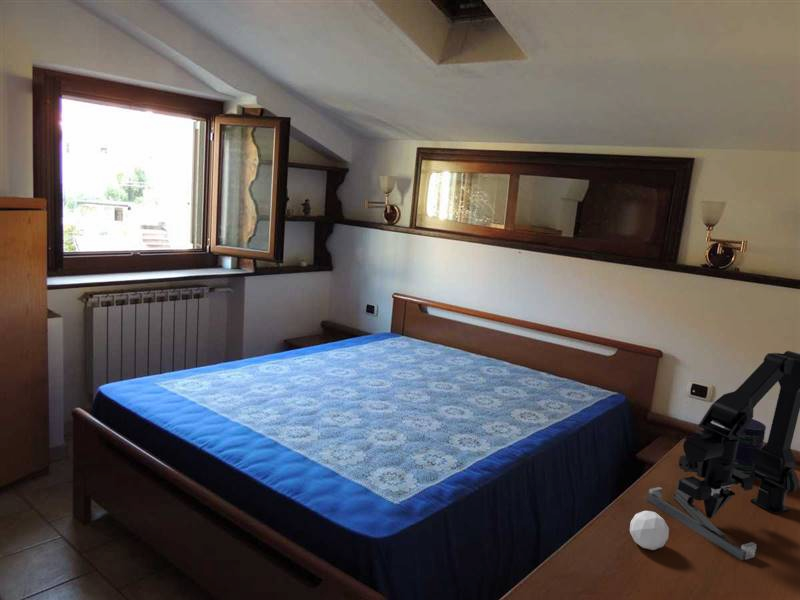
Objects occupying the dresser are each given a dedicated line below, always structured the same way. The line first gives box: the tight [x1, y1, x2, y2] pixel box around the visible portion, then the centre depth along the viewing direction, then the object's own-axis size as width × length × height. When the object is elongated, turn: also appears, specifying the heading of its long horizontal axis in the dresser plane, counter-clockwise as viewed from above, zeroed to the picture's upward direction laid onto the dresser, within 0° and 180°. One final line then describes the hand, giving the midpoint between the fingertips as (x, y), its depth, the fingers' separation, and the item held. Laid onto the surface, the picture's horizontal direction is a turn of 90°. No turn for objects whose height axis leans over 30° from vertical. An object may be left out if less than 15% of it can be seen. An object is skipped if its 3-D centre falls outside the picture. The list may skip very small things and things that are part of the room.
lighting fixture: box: [672, 488, 726, 538], centre depth 148 cm, size 19×3×4 cm, turn 5°
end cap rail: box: [645, 486, 757, 561], centre depth 145 cm, size 4×26×3 cm, turn 26°
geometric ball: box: [629, 510, 670, 551], centre depth 135 cm, size 8×8×8 cm
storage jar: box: [735, 418, 767, 481], centre depth 175 cm, size 10×10×15 cm
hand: (709, 517), depth 146 cm, fingers closed
